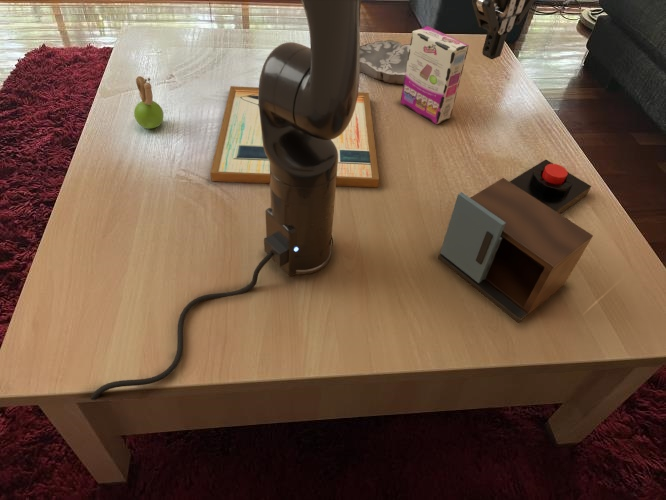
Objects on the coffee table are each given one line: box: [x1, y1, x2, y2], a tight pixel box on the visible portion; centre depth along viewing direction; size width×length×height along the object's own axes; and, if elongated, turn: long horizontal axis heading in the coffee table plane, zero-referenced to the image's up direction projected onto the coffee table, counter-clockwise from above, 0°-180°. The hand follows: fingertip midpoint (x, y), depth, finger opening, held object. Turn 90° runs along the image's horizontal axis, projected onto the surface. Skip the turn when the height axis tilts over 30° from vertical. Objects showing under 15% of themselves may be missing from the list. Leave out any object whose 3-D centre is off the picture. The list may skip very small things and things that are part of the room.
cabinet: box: [437, 177, 594, 323], centre depth 80 cm, size 12×16×11 cm
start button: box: [542, 163, 569, 185], centre depth 95 cm, size 4×4×2 cm
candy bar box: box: [399, 25, 470, 125], centre depth 110 cm, size 11×5×16 cm, turn 42°
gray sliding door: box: [439, 191, 506, 283], centre depth 78 cm, size 1×8×12 cm, turn 40°
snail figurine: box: [133, 75, 164, 130], centre depth 101 cm, size 5×6×12 cm
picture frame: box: [209, 85, 380, 188], centre depth 105 cm, size 30×2×30 cm
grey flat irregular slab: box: [360, 39, 410, 85], centre depth 127 cm, size 20×17×3 cm
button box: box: [509, 159, 592, 215], centre depth 97 cm, size 12×10×4 cm
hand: (490, 56), depth 76 cm, fingers closed
